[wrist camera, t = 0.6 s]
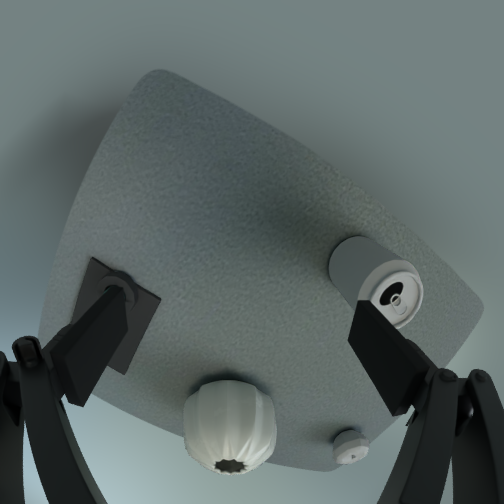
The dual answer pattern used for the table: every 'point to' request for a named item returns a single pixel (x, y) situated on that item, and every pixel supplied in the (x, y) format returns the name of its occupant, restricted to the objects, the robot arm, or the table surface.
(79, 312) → the scale
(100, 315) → the robot arm
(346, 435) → the apple
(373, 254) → the can
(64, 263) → the table surface
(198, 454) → the vase
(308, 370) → the table surface
